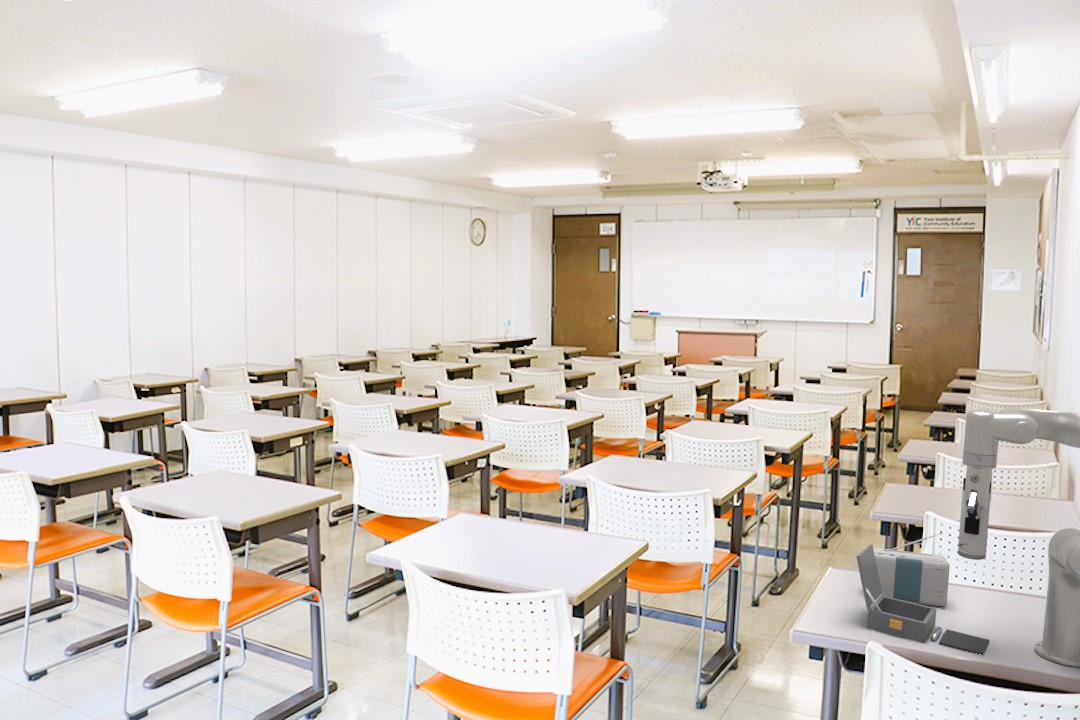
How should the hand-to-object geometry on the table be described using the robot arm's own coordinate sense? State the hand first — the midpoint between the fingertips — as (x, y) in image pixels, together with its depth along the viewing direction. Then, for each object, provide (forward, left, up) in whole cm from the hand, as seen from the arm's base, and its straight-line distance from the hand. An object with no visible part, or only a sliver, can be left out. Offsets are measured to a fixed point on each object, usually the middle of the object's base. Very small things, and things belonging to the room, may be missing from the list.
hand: (973, 529), depth 211 cm
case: (+17, 0, -29) cm, 34 cm away
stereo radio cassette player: (+19, -22, -30) cm, 42 cm away
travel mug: (0, 0, -7) cm, 7 cm away
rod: (+7, 0, -29) cm, 30 cm away
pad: (0, 0, -29) cm, 29 cm away
